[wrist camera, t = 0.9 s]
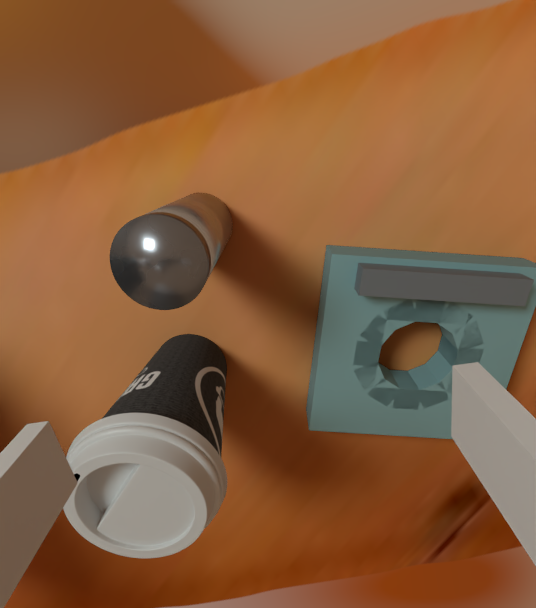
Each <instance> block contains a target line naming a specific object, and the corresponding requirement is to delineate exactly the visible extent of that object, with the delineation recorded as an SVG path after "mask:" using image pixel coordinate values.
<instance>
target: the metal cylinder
mask: <svg viewBox="0 0 536 608" xmlns="http://www.w3.org/2000/svg"><path fill="white" fill-rule="evenodd" d="M232 228H233V223H232V217H231V214H230V212H229V210H228V208H227V207H226V205H225V204H224V203H223V202H222V201H221V200H220V199H218V198H217V197H215V196H213V195H211V194H207V193H193V194H190V195H188V196H186V197H183V198H181V199H179V200H176V201H174V202H172V203H170V204H167V205H165V206H163V207H161V208H158V209H156V210H154V211H151V212H149V213H147V214H145V215H142V216H140V217H138V218H136V219H133V220H131V221H130V222H128V223H127V224H125V225H124V226H123V227H122V228H121V229H120V230H119V231H118V233H117V234H116V236H115V238H114V240H113V242H112V246H111V250H110V264H111V269H112V273H113V275H114V278H115V280H116V281H117V283H118V285H119V286H120V288H121V289H122V290H123V291H124V292H125V293H126V294H127V295H128V296H129V297H130V298H131V299H133V300H134V301H136V302H137V303H139V304H141V305H143V306H146V307H149V308H153V309H159V310H170V309H175V308H179V307H182V306H184V305H186V304H188V303H190V302H191V301H192V300H194V299H195V298H196V297H197V296H198V294H199V293H200V292H201V290H202V288H203V287H204V285H205V283H206V281H207V279H208V277H209V276H210V274H211V272H212V270H213V268H214V266H215V264H216V263H217V261H218V259H219V257H220V255H221V253H222V251H223V250H224V248H225V246H226V244H227V242H228V240H229V239H230V236H231V233H232Z"/></svg>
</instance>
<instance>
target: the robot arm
mask: <svg viewBox="0 0 536 608" xmlns="http://www.w3.org/2000/svg"><path fill="white" fill-rule="evenodd" d="M451 437H452V438H453V440H454V441H455V443H456V444H457V446H458V447H459V449H460V451H461V452H462V454H463V455H464V457H465V458H466V460H467V461H468V463H469V464H470V466H471V467H472V469H473V470H474V472H475V474H476V475H477V477H478V478H479V480H480V481H481V483H482V484H483V486H484V487H485V489H486V490H487V492H488V494H489V495H490V497H491V498H492V500H493V501H494V503H495V504H496V506H497V507H498V509H499V510H500V512H501V514H502V515H503V517H504V518H505V520H506V521H507V523H508V524H509V526H510V527H511V529H512V530H513V532H514V534H515V535H516V537H517V538H518V540H519V541H520V543H521V544H522V546H523V547H524V549H525V550H526V552H527V553H528V555H529V556H530V558H531V559H532V561H533V563H534V564H535V566H536V419H535V418H534V417H533V416H532V415H531V414H530V413H529V412H528V411H527V410H526V409H525V408H524V407H523V406H522V405H521V404H520V403H519V402H518V401H517V400H516V399H515V398H514V397H513V396H512V395H511V394H510V393H509V392H508V391H507V390H506V389H505V388H504V387H503V386H502V385H501V384H500V383H499V382H498V381H497V380H496V379H495V378H494V377H493V376H492V375H491V374H490V373H488V372H487V371H486V370H485V369H484V368H483V367H482V366H481V365H480V364H479V363H478V362H475V363H467V364H460V365H453V366H452V422H451ZM77 484H78V482H77V480H76V478H75V476H74V474H73V472H72V470H71V467H70V465H69V463H68V461H67V459H66V457H65V455H64V452H63V450H62V448H61V446H60V444H59V442H58V440H57V438H56V435H55V433H54V431H53V429H52V427H51V425H50V423H49V421H45V422H38V423H31V424H27V425H26V426H25V427H24V428H23V429H22V430H21V431H20V432H19V433H18V434H17V435H16V437H15V438H14V439H13V440H12V441H11V442H10V443H9V444H8V445H7V446H6V447H5V449H4V450H3V451H2V452H1V453H0V608H4V606H5V605H6V603H7V601H8V600H9V598H10V596H11V595H12V593H13V591H14V590H15V588H16V586H17V585H18V583H19V581H20V580H21V578H22V576H23V574H24V573H25V571H26V569H27V568H28V566H29V564H30V563H31V561H32V559H33V558H34V556H35V554H36V553H37V551H38V549H39V548H40V546H41V544H42V542H43V541H44V539H45V537H46V536H47V534H48V532H49V531H50V529H51V527H52V526H53V524H54V522H55V521H56V519H57V517H58V516H59V514H60V512H61V511H62V509H63V507H64V505H65V504H66V502H67V500H68V499H69V497H70V495H71V494H72V492H73V490H74V489H75V487H76V485H77Z"/></svg>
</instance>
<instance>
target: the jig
mask: <svg viewBox="0 0 536 608" xmlns="http://www.w3.org/2000/svg"><path fill="white" fill-rule="evenodd" d="M535 307H536V263H534V262H531V261H529V260H526V259H524V258H512V257H497V256H482V255H467V254H452V253H437V252H422V251H407V250H392V249H377V248H362V247H348V246H333V245H327V246H326V254H325V262H324V270H323V278H322V286H321V294H320V302H319V310H318V318H317V326H316V334H315V342H314V350H313V358H312V367H311V375H310V383H309V391H308V399H307V407H306V411H307V419H308V426H309V430H312V431H328V432H345V433H361V434H377V435H394V436H410V437H426V438H443V439H453V438H452V437H451V422H452V366H453V365H460V364H467V363H475V362H478V363H479V364H480V365H481V366H482V367H483V368H484V369H485V370H486V371H487V372H488V373H490V374H491V375H492V376H493V377H494V378H495V379H496V380H497V381H498V382H499V383H500V384H501V385H502V386H503V387H504V388H505V389H506V388H507V385H508V383H509V380H510V377H511V374H512V371H513V369H514V366H515V363H516V360H517V357H518V355H519V352H520V349H521V346H522V343H523V340H524V338H525V335H526V332H527V329H528V326H529V324H530V321H531V318H532V315H533V312H534V309H535ZM413 322H430V323H438V324H439V326H440V329H441V332H442V337H441V341H440V345H439V349H438V351H437V352H436V353H435V354H434V355H433V356H432V357H431V358H430V360H429V361H428V362H427V363H426V364H424V365H421V366H419V367H416V368H414V369H411V370H409V371H401V370H389V369H388V368H386V367H384V366H383V365H381V364H380V363H378V361H379V356H380V351H381V346H382V344H383V343H384V342H385V341H386V340H387V339H388V338H389V336H390V335H391V334H392V333H393V332H394V331H395V330H396V329H399V328H401V327H404V326H406V325H409V324H411V323H413Z"/></svg>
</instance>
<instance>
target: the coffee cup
mask: <svg viewBox="0 0 536 608" xmlns="http://www.w3.org/2000/svg"><path fill="white" fill-rule="evenodd" d="M226 371H227V365H226V360H225V357H224V355H223V353H222V351H221V350H220V349H219V347H218V346H217V345H216V344H214V343H213V342H212V341H210V340H208V339H207V338H204V337H202V336H198V335H192V334H184V335H179V336H176V337H173V338H171V339H169V340H168V341H167V342H165V343H164V344H163V345H162V346H161V348H160V349H159V350H158V351H157V353H156V354H155V355H154V356H153V357H152V359H151V360H150V361H149V362H148V364H147V365H146V366H145V367H144V368H143V370H142V371H141V372H140V373H139V375H138V376H137V377H136V378H135V379H134V381H133V382H132V383H131V384H130V385H129V387H128V388H127V389H126V390H125V392H124V393H123V394H122V395H121V396H120V398H119V399H118V400H117V401H116V402H115V404H114V405H113V406H112V407H111V408H110V410H109V411H108V412H107V413H106V414H105V416H104V417H103V418H102V419H100V420H98V421H96V422H94V423H92V424H91V425H89V426H88V427H86V428H85V429H84V430H82V431H81V432H80V433H79V434H78V436H77V437H76V438H75V439H74V441H73V442H72V444H71V446H70V448H69V450H68V453H67V457H66V459H67V461H68V463H69V465H70V467H71V470H72V472H73V474H74V476H75V478H76V480H77V482H78V484H77V485H76V487H75V489H74V490H73V492H72V494H71V495H70V497H69V499H68V500H67V502H66V504H65V505H64V507H63V509H64V512H65V514H66V517H67V519H68V520H69V522H70V523H71V525H72V526H73V527H74V529H75V530H76V531H77V532H78V533H79V534H80V535H81V536H83V537H84V538H85V539H86V540H88V541H89V542H91V543H92V544H94V545H96V546H97V547H99V548H101V549H104V550H106V551H108V552H111V553H114V554H118V555H121V556H126V557H132V558H158V557H163V556H168V555H171V554H174V553H177V552H179V551H181V550H183V549H185V548H187V547H188V546H190V545H191V544H192V543H193V542H194V541H195V540H196V539H197V538H198V537H199V536H200V534H201V533H202V531H203V530H204V528H206V527H207V526H208V525H209V523H210V522H211V521H212V519H213V518H214V517H215V515H216V514H217V512H218V510H219V508H220V506H221V504H222V502H223V500H224V497H225V494H226V490H227V474H226V469H225V466H224V463H223V461H222V459H221V450H222V433H223V417H224V401H225V386H226Z"/></svg>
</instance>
